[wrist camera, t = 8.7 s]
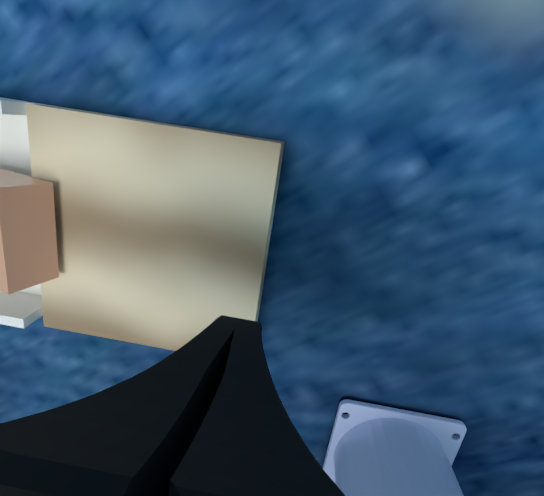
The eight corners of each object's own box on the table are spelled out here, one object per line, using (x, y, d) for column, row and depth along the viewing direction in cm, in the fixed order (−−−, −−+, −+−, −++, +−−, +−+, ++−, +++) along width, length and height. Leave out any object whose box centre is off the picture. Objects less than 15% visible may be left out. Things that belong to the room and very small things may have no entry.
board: (255, 339, 22) (248, 364, 20) (71, 305, 23) (44, 326, 20) (284, 141, 18) (281, 143, 16) (61, 106, 19) (25, 103, 16)
